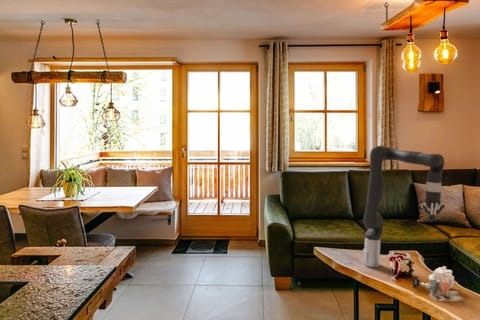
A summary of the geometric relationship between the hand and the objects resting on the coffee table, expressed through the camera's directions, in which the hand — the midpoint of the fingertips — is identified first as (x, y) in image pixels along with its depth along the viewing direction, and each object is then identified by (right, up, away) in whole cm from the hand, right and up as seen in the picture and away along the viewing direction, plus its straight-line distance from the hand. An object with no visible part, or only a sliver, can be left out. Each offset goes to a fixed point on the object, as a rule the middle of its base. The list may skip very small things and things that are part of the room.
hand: (431, 221), depth 203 cm
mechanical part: (+2, -36, -4) cm, 36 cm away
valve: (-7, -36, -8) cm, 38 cm away
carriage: (-2, -35, -16) cm, 38 cm away
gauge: (-1, -37, -16) cm, 40 cm away
